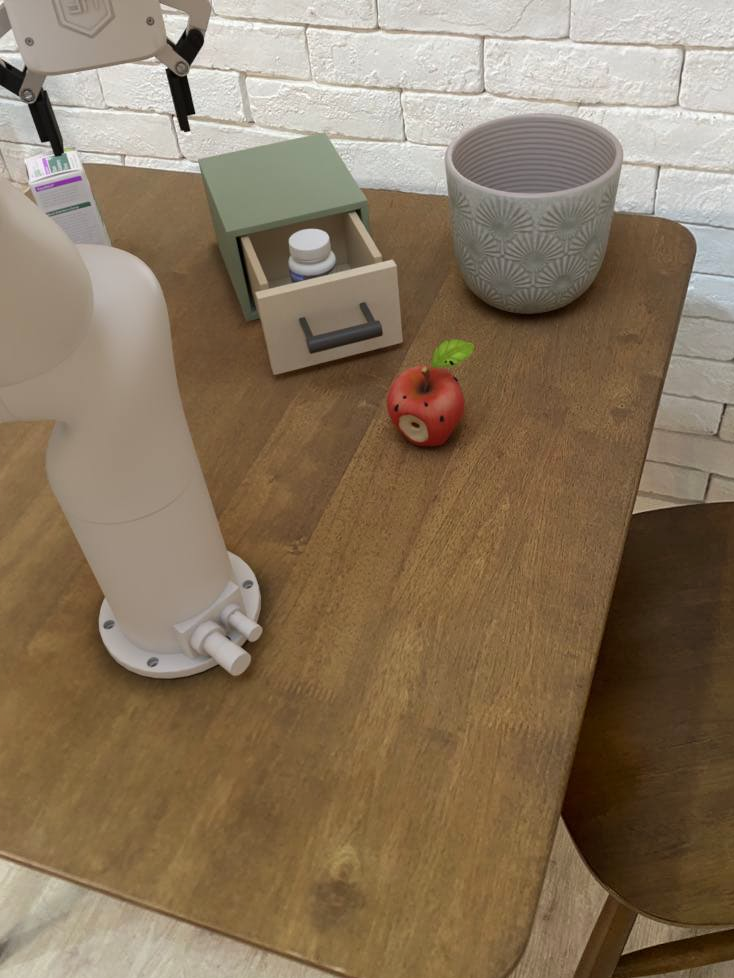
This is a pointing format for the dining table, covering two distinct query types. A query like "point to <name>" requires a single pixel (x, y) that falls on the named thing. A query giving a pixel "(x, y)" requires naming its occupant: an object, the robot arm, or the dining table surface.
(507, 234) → the planter
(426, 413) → the apple
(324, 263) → the pill bottle
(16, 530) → the dining table surface
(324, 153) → the cabinet
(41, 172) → the syrup box
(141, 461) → the robot arm
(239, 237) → the drawer
